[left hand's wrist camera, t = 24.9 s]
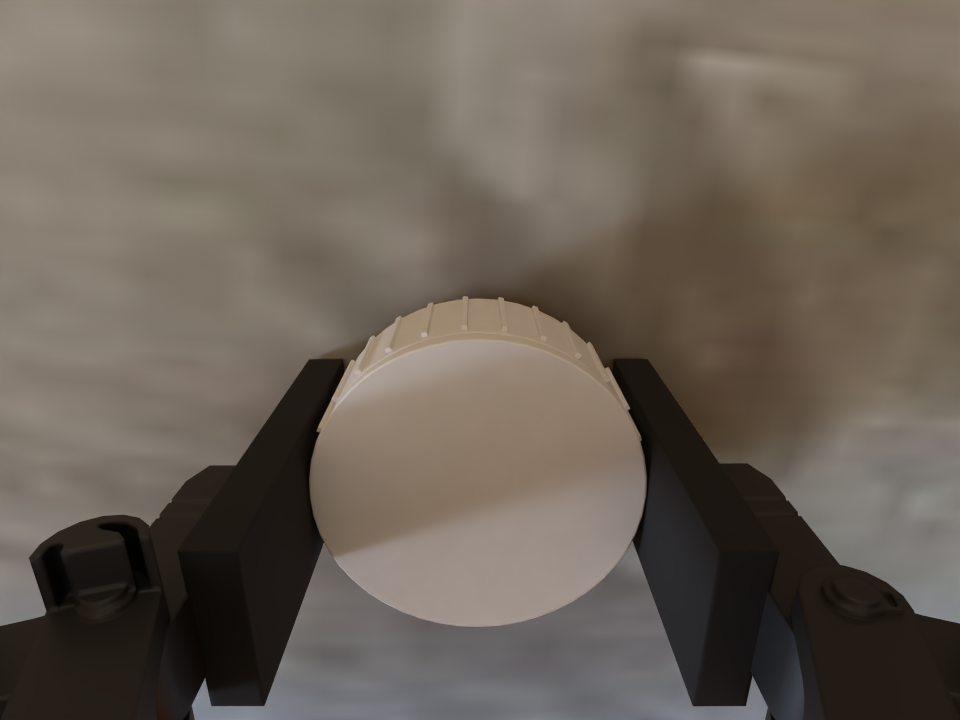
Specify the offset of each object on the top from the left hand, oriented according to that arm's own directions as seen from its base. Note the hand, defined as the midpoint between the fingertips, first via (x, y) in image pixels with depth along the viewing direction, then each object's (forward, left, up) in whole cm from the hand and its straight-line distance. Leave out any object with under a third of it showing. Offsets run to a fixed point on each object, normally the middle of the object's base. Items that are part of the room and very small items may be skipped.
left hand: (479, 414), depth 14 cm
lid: (0, 0, +3) cm, 3 cm away
